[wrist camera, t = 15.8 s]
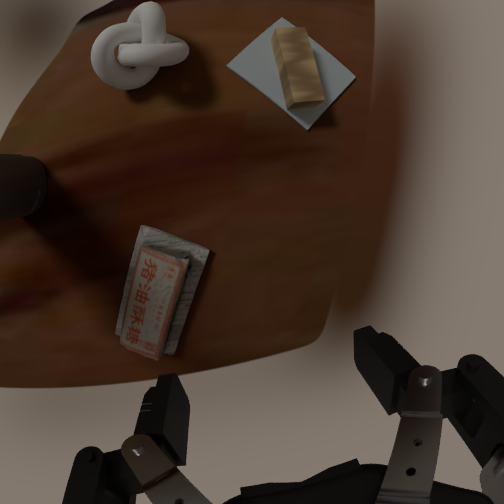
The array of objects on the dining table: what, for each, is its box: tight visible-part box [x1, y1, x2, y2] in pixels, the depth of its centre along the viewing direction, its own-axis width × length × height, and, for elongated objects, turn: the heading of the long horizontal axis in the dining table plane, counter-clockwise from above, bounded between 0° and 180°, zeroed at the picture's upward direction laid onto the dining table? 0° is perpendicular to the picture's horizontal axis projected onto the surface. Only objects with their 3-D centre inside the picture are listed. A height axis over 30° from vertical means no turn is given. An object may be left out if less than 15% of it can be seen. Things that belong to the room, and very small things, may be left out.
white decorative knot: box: [91, 1, 189, 90], centre depth 26 cm, size 11×12×9 cm
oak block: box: [271, 27, 325, 110], centre depth 31 cm, size 4×4×11 cm
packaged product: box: [115, 225, 210, 361], centre depth 37 cm, size 18×5×10 cm
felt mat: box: [226, 18, 356, 130], centre depth 33 cm, size 14×12×1 cm
